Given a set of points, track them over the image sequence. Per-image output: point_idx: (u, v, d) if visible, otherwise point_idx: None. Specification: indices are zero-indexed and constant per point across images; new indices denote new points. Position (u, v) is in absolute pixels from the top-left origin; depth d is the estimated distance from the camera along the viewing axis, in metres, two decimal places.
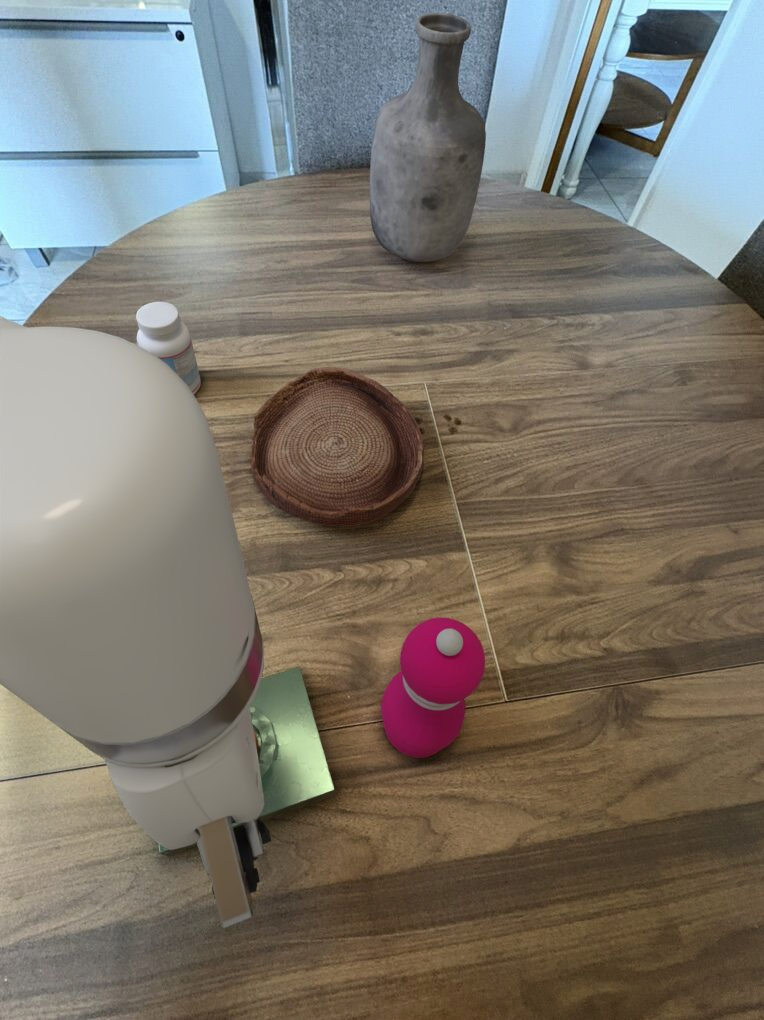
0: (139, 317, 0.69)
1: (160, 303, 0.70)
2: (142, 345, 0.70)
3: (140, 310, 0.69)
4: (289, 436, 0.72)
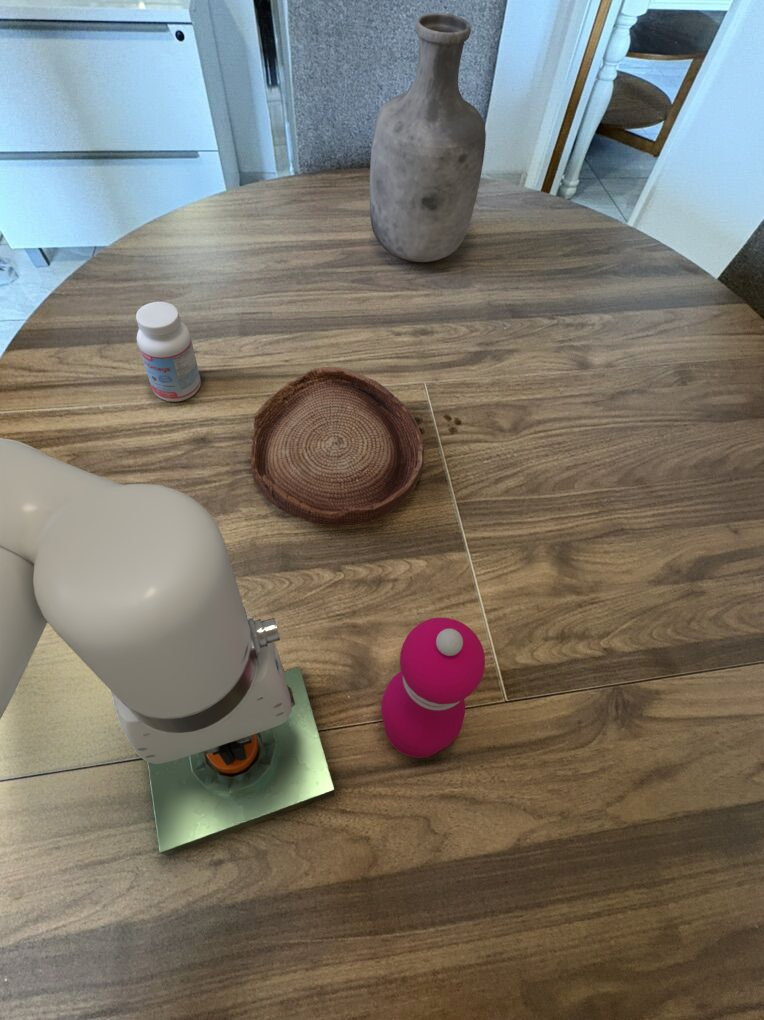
0: (139, 317, 0.69)
1: (160, 303, 0.70)
2: (142, 345, 0.70)
3: (140, 310, 0.69)
4: (289, 436, 0.72)
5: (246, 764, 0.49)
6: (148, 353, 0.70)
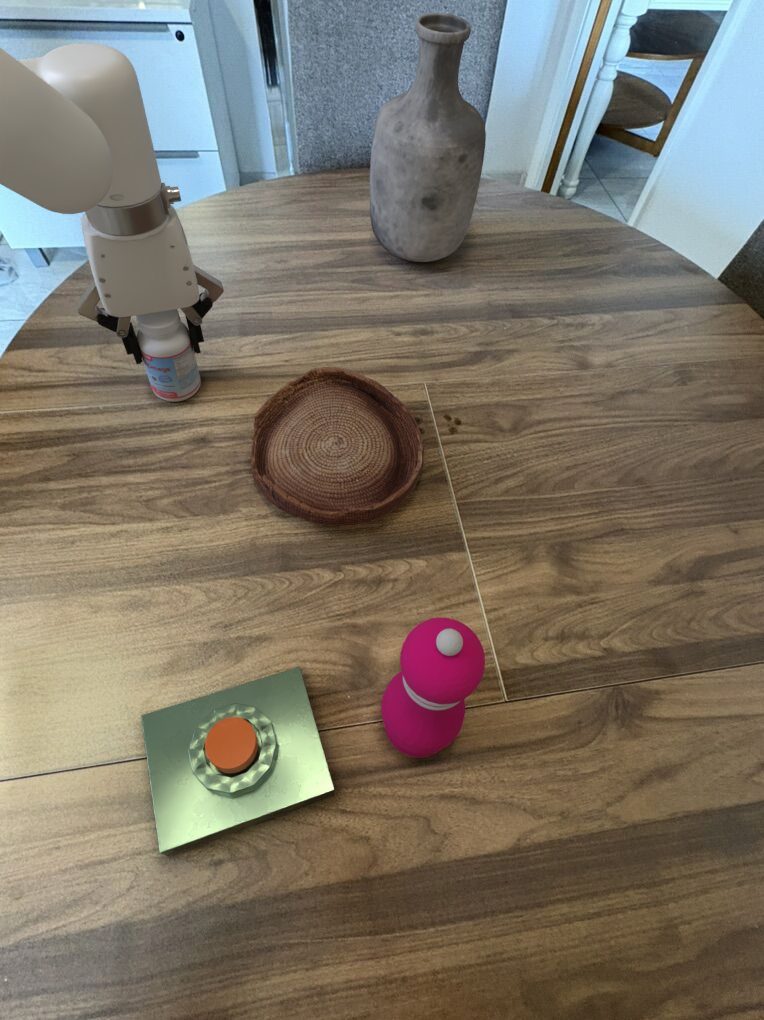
0: (139, 317, 0.69)
1: None
2: (142, 345, 0.70)
3: None
4: (289, 436, 0.72)
5: (246, 763, 0.49)
6: (148, 353, 0.70)
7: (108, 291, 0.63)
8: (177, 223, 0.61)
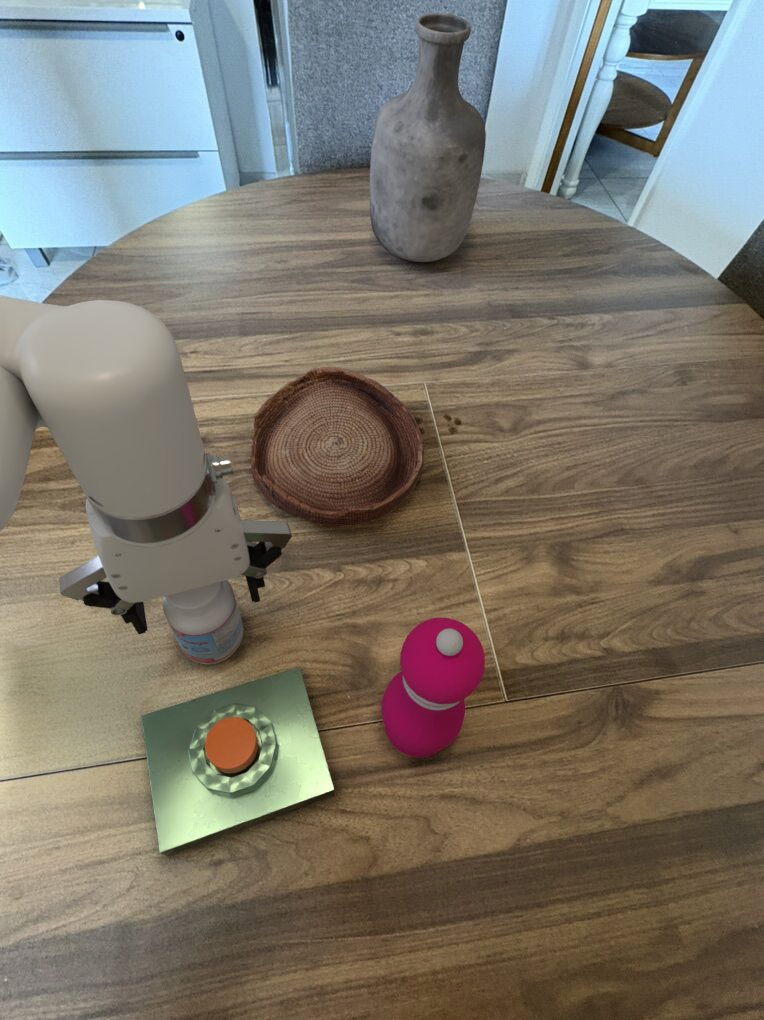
0: None
1: None
2: (171, 620, 0.52)
3: None
4: (289, 436, 0.72)
5: (246, 763, 0.49)
6: (179, 630, 0.52)
7: (124, 584, 0.44)
8: (226, 499, 0.42)
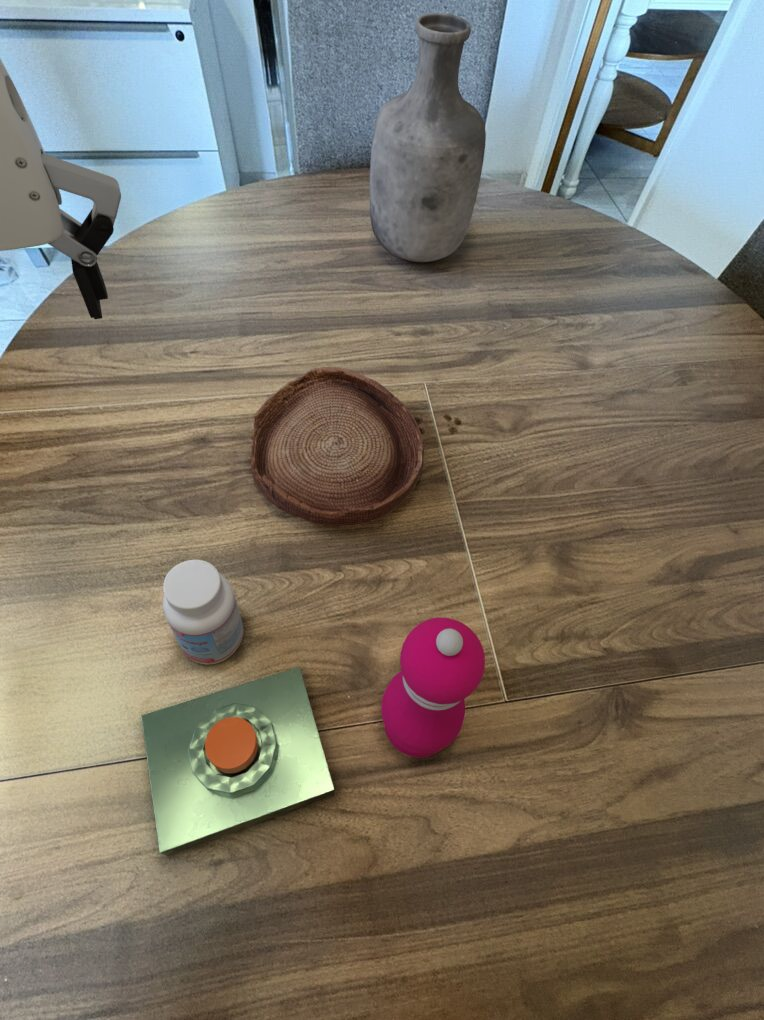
0: (167, 590, 0.50)
1: (195, 563, 0.52)
2: (170, 620, 0.52)
3: (168, 577, 0.51)
4: (289, 436, 0.72)
5: (246, 763, 0.49)
6: (179, 630, 0.52)
7: None
8: None
